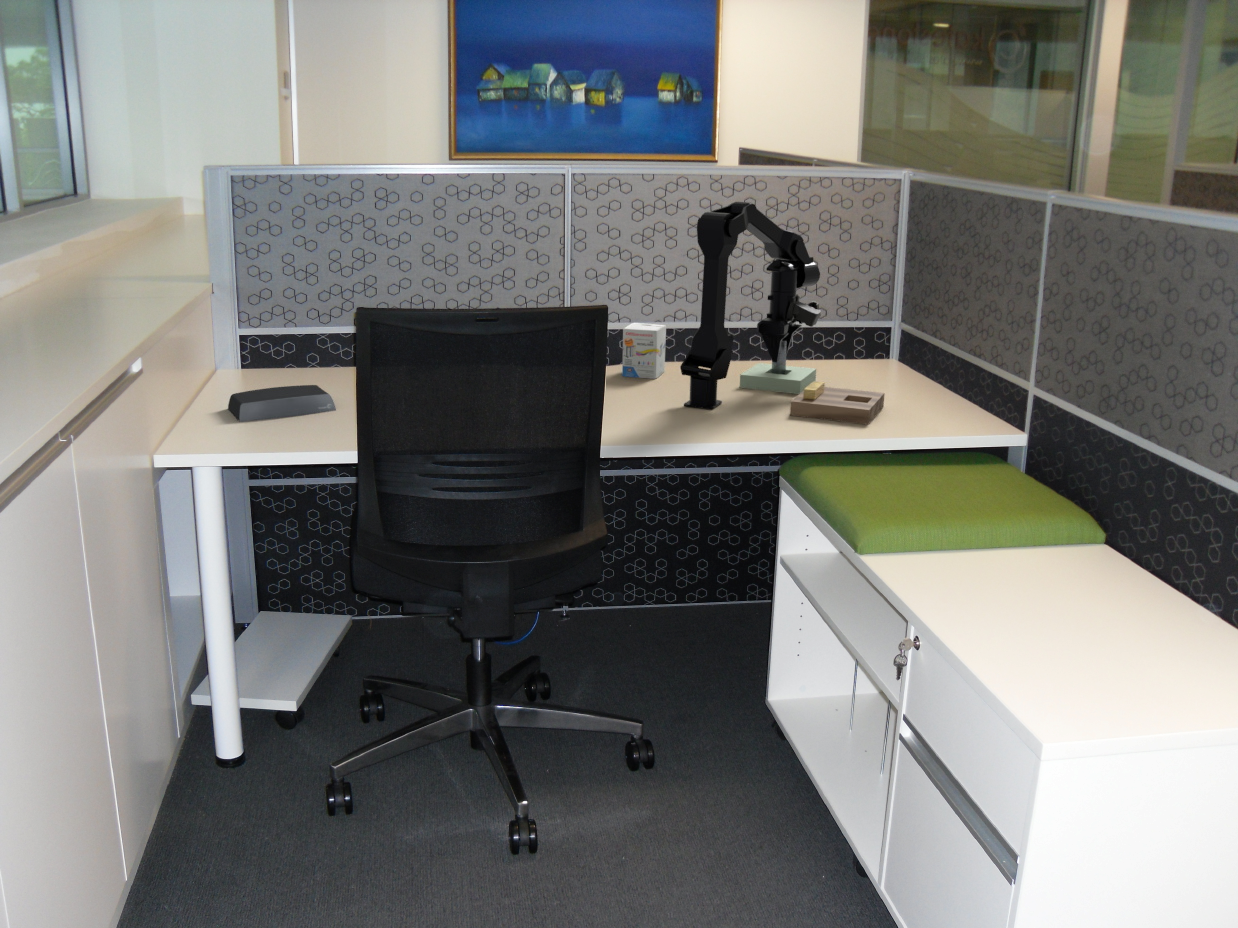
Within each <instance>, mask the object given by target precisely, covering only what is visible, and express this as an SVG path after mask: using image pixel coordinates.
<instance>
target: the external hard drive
mask: <svg viewBox="0 0 1238 928" xmlns="http://www.w3.org/2000/svg"><path fill="white" fill-rule="evenodd" d="M227 410H228V411H229V412H230V413H231V414H232V415H233V416H234V417H235V419H236V420H238V422H239V423H243V422H245V423H246V422H254V421H264V420H275V419H284V418H290V417H291V418H293V417H298V416H306V415H307V416H309V415H315V414H322V413H328V412H334V411H337V407H336V404H335V401H334V399H333V397H332V395H331V394H329V393H328V392H327V391H325V390H324V389H322V388H321V387H320V386H319V385H317V384H306V385H305V384H304V385H289V386H288V385H287V386H285V385H284V386H276V387H268V388H266V387H265V388H261V389H258V388H257V389H253V390H246V391H241V392H236V393H232V394H231V395H230V397H229V401H228V405H227Z"/></svg>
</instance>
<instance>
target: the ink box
mask: <svg viewBox="0 0 1238 928" xmlns="http://www.w3.org/2000/svg"><path fill="white" fill-rule="evenodd" d="M666 338H667V325H666V324H653V323H646V322H645V323H643V322H632V323H630V324H628V325H627V326H625V327H623V328H622V371H621V372H622V374H621V375H622V377H623V378H624V377H626V378H640V379H651V380H653V379H654V380H656V379H658V377H660V376H662V374H663V373H664V372H665V368H666V366H665V365H666V363H665V362H666Z"/></svg>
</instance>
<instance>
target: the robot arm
mask: <svg viewBox="0 0 1238 928" xmlns="http://www.w3.org/2000/svg"><path fill="white" fill-rule="evenodd" d="M746 231H748V232H749V233H750V234H752V235H753V236H754V237H756V239H757V240H759V241H760V242H762V243H763V245H764V246H763V250H764V251H765V252H766V253H767V255H768V256H769V257H770V258H771V259H773V260H772V261H771V263H770V264H768V266H766V268H765V270H766V272H771V274H770V275H771V277H770V278H771V279H770V291H769V292H770V294H768V295H767V300H768V301H769V312H768V313H766V317H765V318H763V319H761V320H760V321H759V322H758V323H757V325H756V333H759V335H760V336H761V338H762V340H763V343H764V345H765V347H766V349H767V352H768V354H769V356H770V359H771V363H772V362H777V361H778V357H779V352H780V347H781V343H782V340H785V341H787V344H786V356H787V355H788V352H789V349H790V345H791V343H792V339H793V336H794V334H795V332H796V331H798V330H799V329H800V328H801V327H803V326H802V325H803V324H805V326H807V327H809V328H810V327H814V326H815V325H817V322H818V320H819V318H820V317H821V315H822V314H821V313H822V310H821V309H820V303H819V302H817V301H815V300H813V301H811V302H810V303H808V304H807V303H806V302H805V303H803V302H801V301H800V296H799V294H797V289H802V288H807V287H813V286H815V285H817V283H818V282H819V280H820V277H821V272H820V268H819V266H818V265H817V263H815V262H814V257H813V256H810V255H809V252H808V249H807V246H806V244H805V241H804V238H803V236H801V235H800V234H799V233H796V232H794V231H791V230H788V229H787V230H786V229H784V228H782V227H780V226H778V225H777V224H776V223H775V222H774V221H773V220H771V219H770V218H769V217H768V216H766V215H765V214H764V213H763V212H761V211H760V210H759V209H758V208H757V206H756V204H755V203H753V202H750V201H749V202H748V201H735V202H732V203H730V204H727V206H724V207H720V208H717V209H714V210H711V211H706V212H704V213H703V214H701V216H700V217H699V218H698V219H697V222H696V236H697V238H696V240H697V245H698V247H699V249H700V250H701V253H702V255H703V271H702V272H703V274H702V287H701V288H702V292H701V307H700V308H701V311H700V313H701V314H700V325H699V328H698V329H697V331H696V332H695V334H694V335H693V337H692V338H691V343H690V345H691V346H690V350H689V351H688V353H687V354H686V356H685V358H684V359H683V361H682V362H681V364H680V367H679V368H680V372H681V373H680V374H681V376H687V377H689V400H687V401H685V402H684V403H683V406H684V407H688V408H689V407H690V408H699V409H705V410H706V409H707V410H714V409H715V408H716V407H718V406H719V405H721V404H722V403H723V401H722V400H719V399H717V398H718V397H717V395H718V381H719V380H723V379H727V376H728V372H729V367H730V364H731V359H732V355H733V354H734V352H733V351H734V350H733V344H734V336H733V334H729V333H728V332H727V330H726V327H725V317H726V306H727V305H726V304H727V303H726V301H727V289H728V288H727V286H728V285H727V284H728V271H729V258H730V256H731V254H732V253H733V251H734V250H735V248H736V246H737V245H738V241H739V240H738V239H739V235H740V234H742V233H743V232H746ZM798 323H799V324H798Z"/></svg>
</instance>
